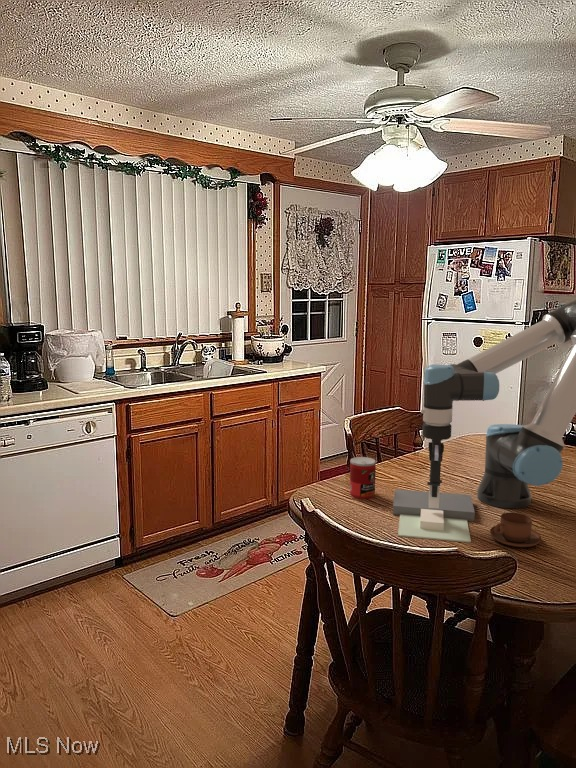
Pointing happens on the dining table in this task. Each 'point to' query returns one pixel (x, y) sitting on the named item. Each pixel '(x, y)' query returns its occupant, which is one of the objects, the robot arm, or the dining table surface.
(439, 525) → the cream flat block
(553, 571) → the dining table surface
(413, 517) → the sage mat
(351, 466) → the canned food
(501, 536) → the cup and saucer
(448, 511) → the plate
